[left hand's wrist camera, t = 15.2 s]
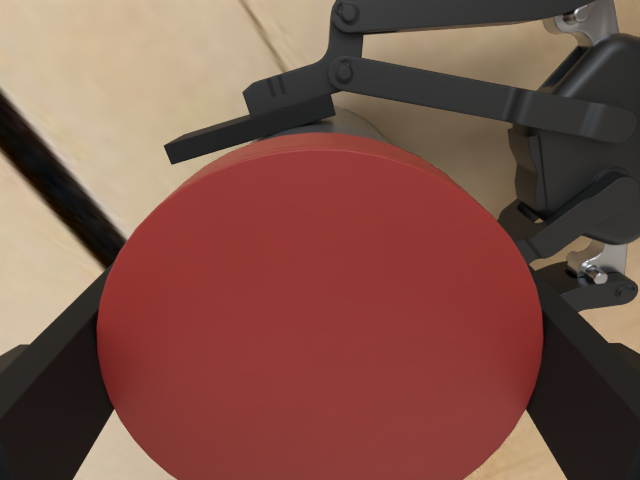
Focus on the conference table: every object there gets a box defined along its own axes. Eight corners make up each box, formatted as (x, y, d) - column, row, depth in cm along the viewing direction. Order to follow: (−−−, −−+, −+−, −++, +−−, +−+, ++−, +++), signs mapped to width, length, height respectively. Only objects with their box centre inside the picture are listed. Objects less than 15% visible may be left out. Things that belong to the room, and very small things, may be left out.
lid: (351, 33, 10) (359, 26, 8) (576, 342, 13) (623, 393, 11) (52, 299, 12) (1, 344, 10) (299, 507, 15) (296, 573, 13)
